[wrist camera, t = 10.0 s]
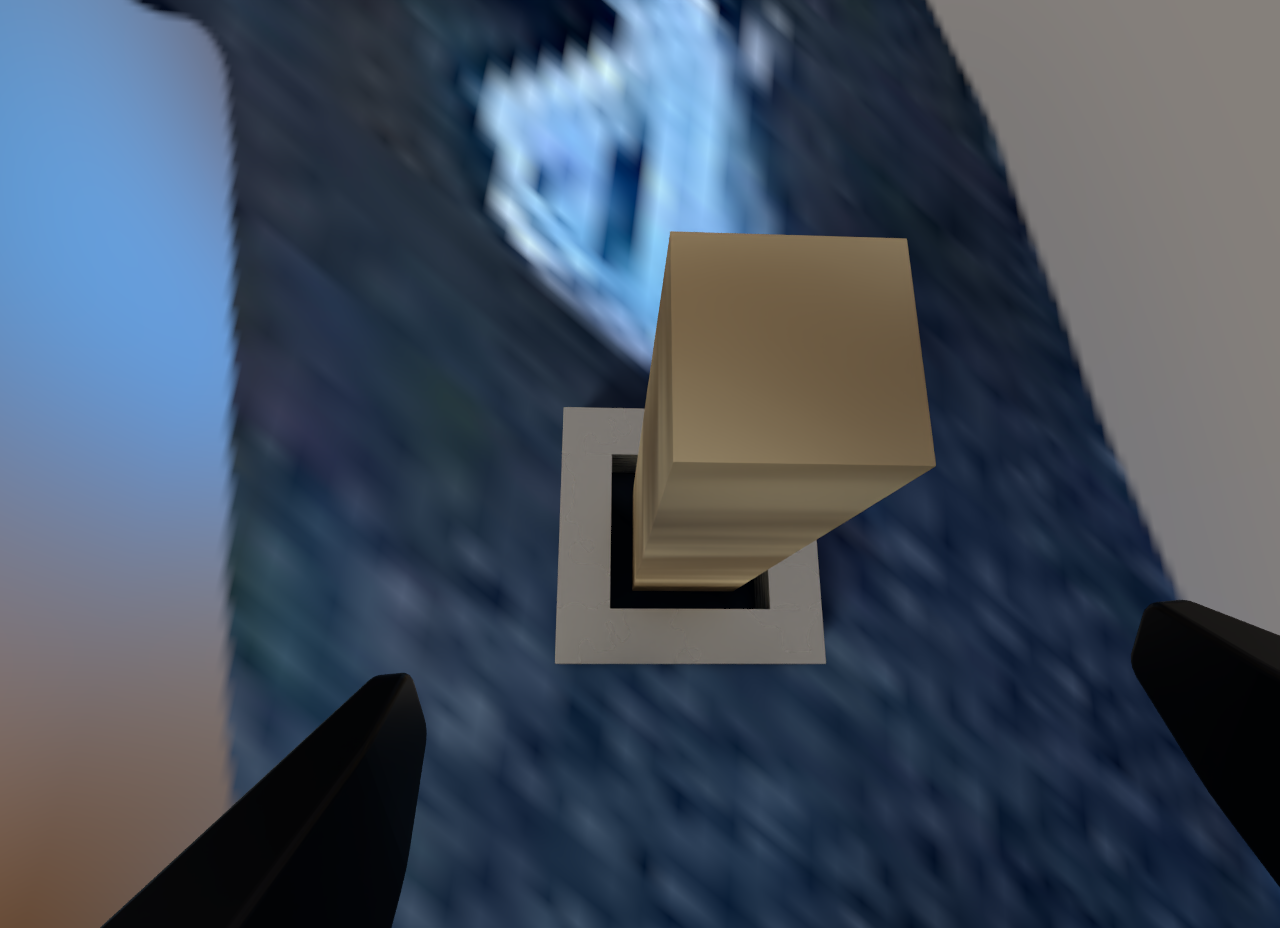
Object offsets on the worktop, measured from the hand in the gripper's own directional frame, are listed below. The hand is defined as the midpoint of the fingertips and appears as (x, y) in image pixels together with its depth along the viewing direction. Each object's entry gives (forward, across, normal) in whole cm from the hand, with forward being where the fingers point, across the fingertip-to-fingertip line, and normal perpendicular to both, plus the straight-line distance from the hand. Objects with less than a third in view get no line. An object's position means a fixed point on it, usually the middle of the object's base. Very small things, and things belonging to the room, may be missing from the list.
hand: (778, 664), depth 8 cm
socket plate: (+12, 0, +6) cm, 14 cm away
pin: (+12, 0, +6) cm, 14 cm away
